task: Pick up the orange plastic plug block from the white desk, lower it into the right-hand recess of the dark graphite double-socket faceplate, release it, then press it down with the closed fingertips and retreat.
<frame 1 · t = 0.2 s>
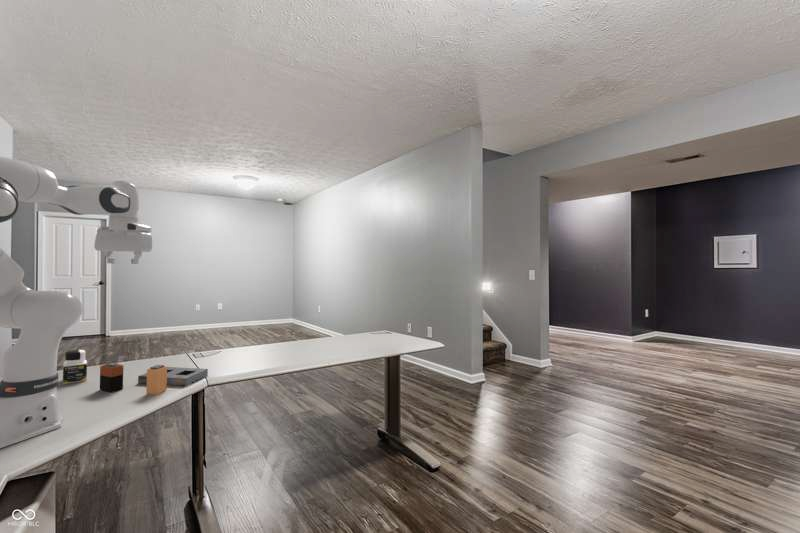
hand: (122, 263, 138), 47 cm above the table, fingers open, 8 cm apart
plug: (156, 392, 138), on the table
socket plate: (174, 379, 153), on the table
medicine bottle: (74, 381, 149), on the table
battery: (111, 390, 139), on the table
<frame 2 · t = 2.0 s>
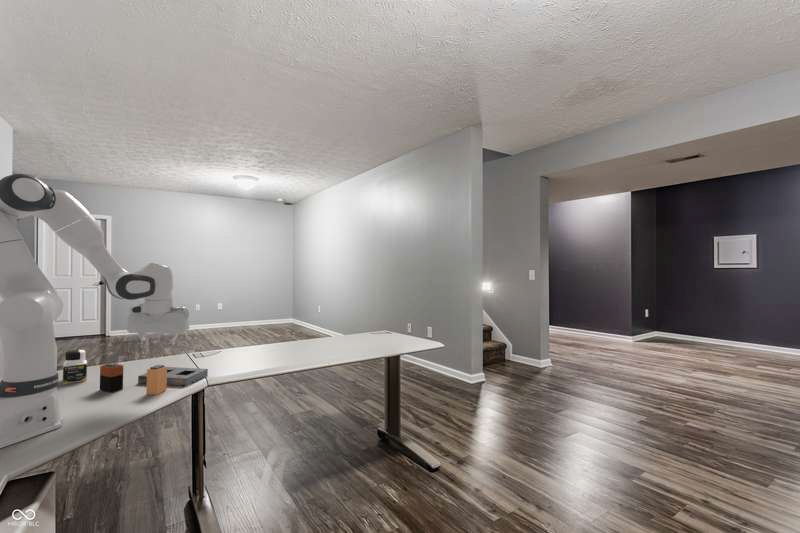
hand: (158, 344, 138), 18 cm above the table, fingers open, 8 cm apart
nothing on the table moved.
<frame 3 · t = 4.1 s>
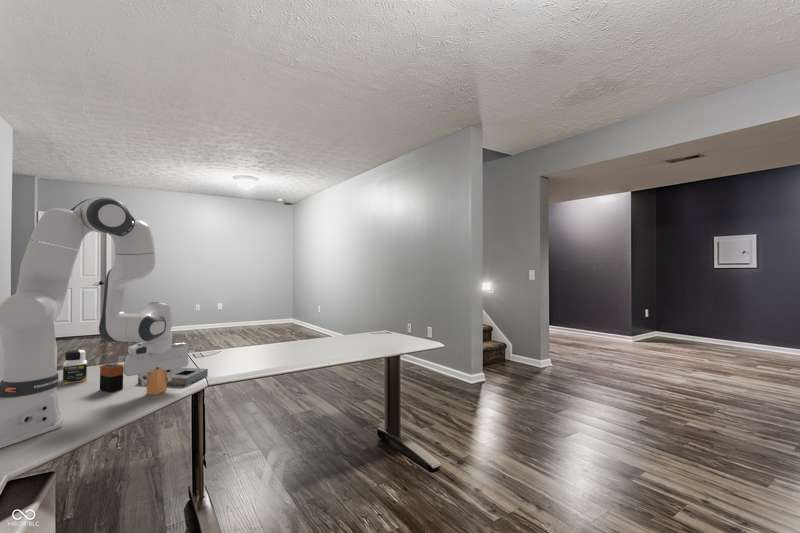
hand: (156, 383, 138), 3 cm above the table, fingers closed on plug, 6 cm apart
plug: (156, 392, 138), on the table, touching gripper
everything else where it was.
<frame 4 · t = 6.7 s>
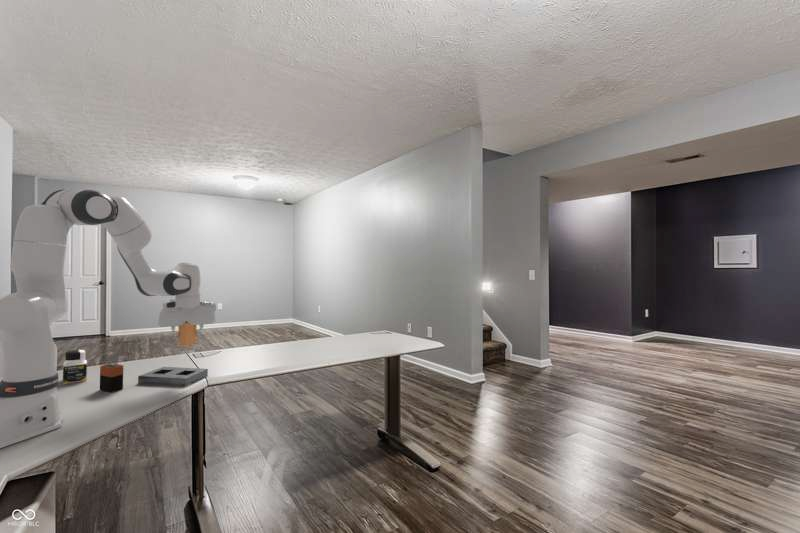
hand: (187, 336, 153), 18 cm above the table, fingers closed on plug, 6 cm apart
plug: (187, 344, 153), point 15 cm above the table, touching gripper
everything else where it was.
when the fingers open (5 cm above the table, at t = 9.2 s): plug drops 1 cm, resting on socket plate.
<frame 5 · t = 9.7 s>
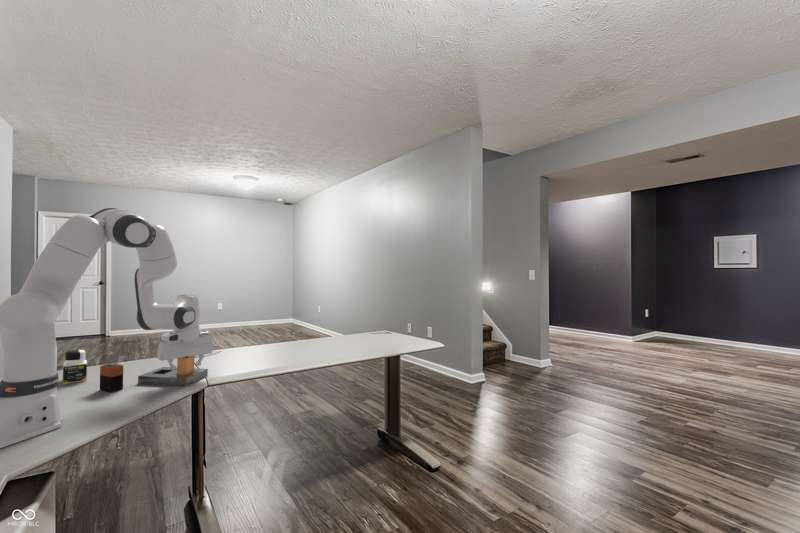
hand: (186, 367, 152), 5 cm above the table, fingers open, 8 cm apart
plug: (185, 378, 152), point 1 cm above the table, touching socket plate
everything else where it was.
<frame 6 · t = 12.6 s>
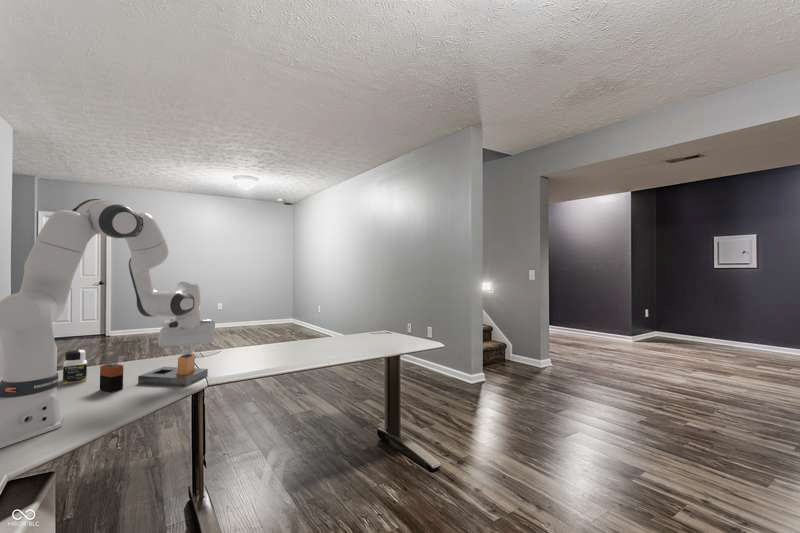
hand: (187, 354, 153), 10 cm above the table, fingers closed, pressing on plug
plug: (185, 378, 152), point 1 cm above the table, touching gripper, socket plate
everything else where it was.
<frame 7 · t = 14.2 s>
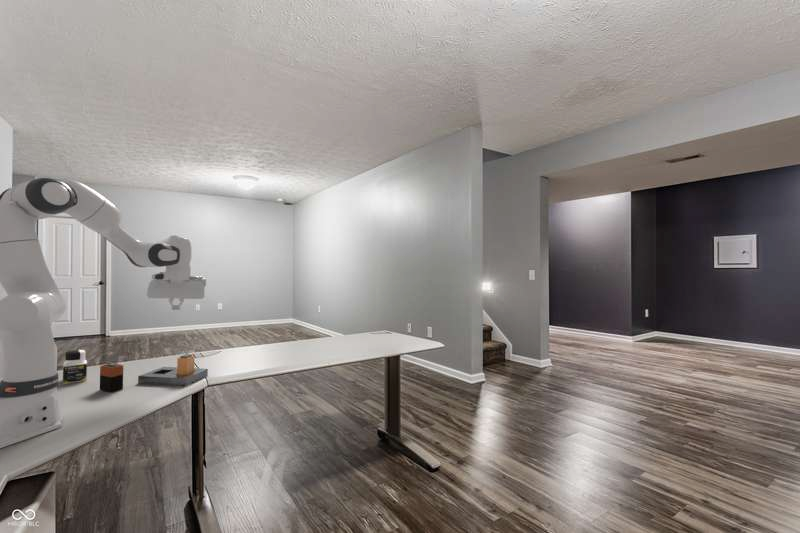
hand: (176, 309, 152), 29 cm above the table, fingers closed
plug: (185, 378, 152), point 1 cm above the table, touching socket plate
everything else where it was.
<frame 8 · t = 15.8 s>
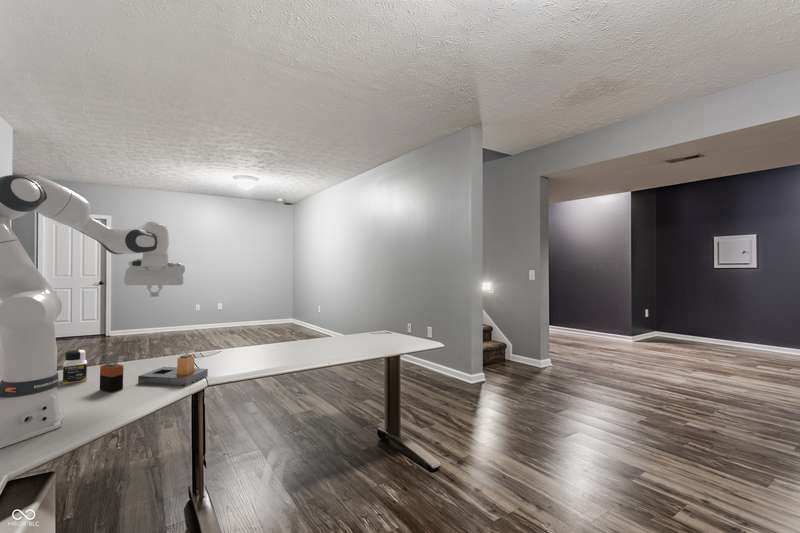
hand: (154, 296, 152), 34 cm above the table, fingers closed
nothing on the table moved.
at the end: plug 0.1 cm from the target spot on the socket plate, point 0.6 cm above the socket plate's base; plug tilted 0°; the gripper is holding nothing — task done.
